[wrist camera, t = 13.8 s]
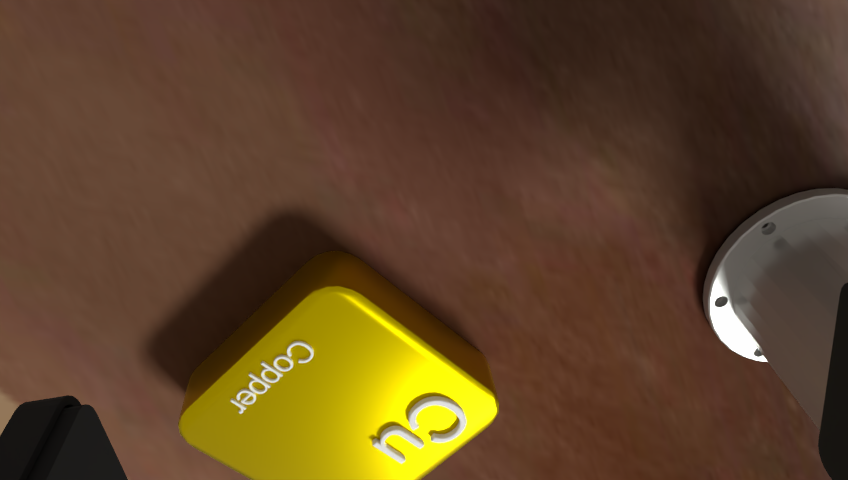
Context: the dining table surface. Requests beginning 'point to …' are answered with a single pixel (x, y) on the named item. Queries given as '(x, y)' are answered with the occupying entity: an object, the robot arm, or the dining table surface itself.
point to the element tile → (338, 383)
